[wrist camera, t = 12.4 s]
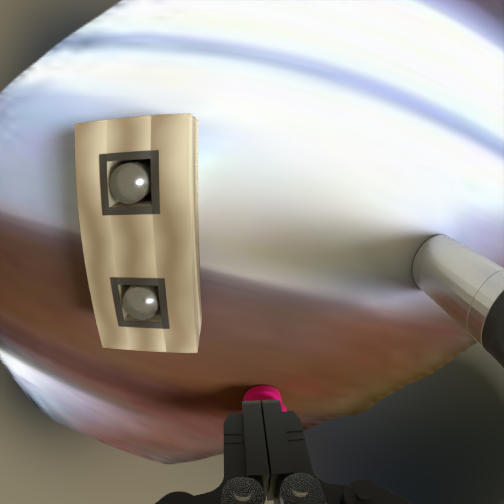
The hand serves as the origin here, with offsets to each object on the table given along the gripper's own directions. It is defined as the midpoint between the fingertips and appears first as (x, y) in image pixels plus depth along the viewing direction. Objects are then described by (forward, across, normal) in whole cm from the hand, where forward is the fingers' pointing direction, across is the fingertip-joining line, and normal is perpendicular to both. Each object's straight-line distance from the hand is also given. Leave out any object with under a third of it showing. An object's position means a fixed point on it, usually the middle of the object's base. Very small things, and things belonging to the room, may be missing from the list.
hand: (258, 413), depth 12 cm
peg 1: (+29, +11, -6) cm, 32 cm away
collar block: (+29, +11, 0) cm, 31 cm away
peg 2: (+29, +11, +6) cm, 32 cm away
